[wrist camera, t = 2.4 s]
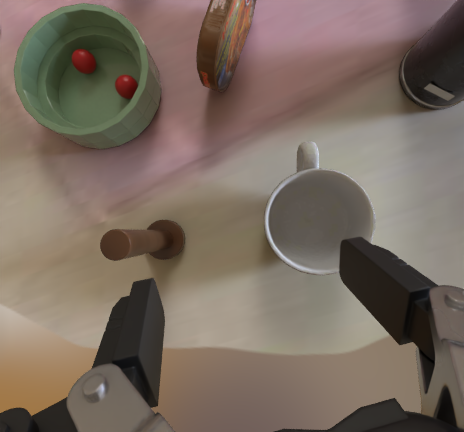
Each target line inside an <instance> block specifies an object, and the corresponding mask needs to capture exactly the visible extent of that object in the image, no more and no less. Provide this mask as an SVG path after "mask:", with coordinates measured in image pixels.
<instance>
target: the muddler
mask: <svg viewBox="0 0 464 432" xmlns="http://www.w3.org/2000/svg"><path fill="white" fill-rule="evenodd" d="M184 244H185V234H184V232H183V230H182V228H181V227H180V226H179V225H178V224H177V223H175V222H173V221H169V220H159V221H156V222H154V223H153V224H151V225H150V226H149V227H148V229H147V230H123V229H115V230H110V231H108V232H107V233H106V234H105V235H104V236H103V237H102V239H101V243H100V248H101V251H102V253H103V255H104V256H105V257H106V258H108V259H110V260H114V261H116V260H122V259H126V258H130V257H134V256H138V255H143V254H147V253H149V254H150V255H152V256H153V257H155V258H157V259H161V260H166V259H170V258H173V257H175V256H176V255H178V254H179V253H180V252H181V251H182V249H183V247H184Z"/></svg>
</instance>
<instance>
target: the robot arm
mask: <svg viewBox="0 0 464 432" xmlns="http://www.w3.org/2000/svg"><path fill="white" fill-rule="evenodd" d="M400 81H401V85H402V87H403V89H404V91H405V93H406V94H407V95H408V96H409V97H410V98H411V99H412V100H413V101H414V102H415V103H417V104H419V105H421V106H423V107H426V108H430V109H445V108H449V107H452V106H454V105H456V104H458V103H459V102H461V101H463V100H464V0H457V1H456V2H455V3H454V4H453V5H452V6H451V8H450V9H449V10H448V11H447V12H446V13H445V14H444V15H443V16H442V17H441V18H440V19H439V20H438V21H437V22H436V23H435V25H434V26H433V27H432V28H431V29H430V30H429V31H428V32H427V33H426V34H425V35H424V36H423V37H422V38H421V39H420V40H419V41H418V42H417V43H416V44H415V45H414V46H413V47H412V48H411V49H410V50H409V51H408V52H407V53H406V55H405V56H404V58H403V60H402V62H401V66H400ZM339 273H340V277H341V279H342V281H343V283H344V284H345V285H346V286H347V288H348V289H349V290H350V291H351V292H352V293H353V294H354V295H355V296H356V298H357V299H358V300H359V301H360V302H361V303H362V304H363V305H364V306H365V307H366V309H367V310H368V311H369V312H370V313H371V314H372V315H373V316H374V317H375V319H376V320H377V321H378V322H379V323H380V324H381V325H382V326H383V327H384V329H385V330H386V331H387V332H388V333H389V334H390V335H391V336H392V337H393V338H394V340H395V341H396V342H397V343H398V344H399V345H403V344H406V343H410V342H414V343H415V344H416V346H417V348H416V360H417V369H418V378H419V386H420V395H421V414H420V413H415V412H409V411H404V410H403V409H402V407H401V406H400V404H399V403H398V402H397V401H396V399H395V398H393V399H389V400H386V401H382V402H378V403H375V404H371V405H368V406H364V407H361V408H359V409H357V410H356V411H355V412H353V413H352V414H350V415H349V416H347V417H346V418H345V419H343V420H342V421H340V422H339V423H338V424H336V425H335V426H334V427H332V428H330V429H328V430H302V429H282V430H278V431H275V432H464V289H462V288H458V287H454V286H446V285H442V286H438V285H437V284H435V283H434V282H433V281H431V280H430V279H428V278H427V277H425V276H424V275H423V274H421V273H420V272H418V271H417V270H416V269H414V268H413V267H411V266H410V265H407V263H406V262H404V261H403V260H401V259H399V258H398V257H397V256H396V255H394V254H393V253H391V252H390V251H389V250H386V249H384V248H381V247H379V246H376V245H372V244H371V243H370V242H368V241H367V240H365V239H364V238H363V237H360V236H359V237H354V238H349V239H344V240H342V241H341V244H340V261H339ZM164 326H165V316H164V310H163V306H162V302H161V299H160V296H159V292H158V289H157V286H156V282H155V280H154V278H150V279H145V280H140V281H136V282H134V283H133V285H132V289H131V292H130V296H126V297H122V298H121V299H120V300H119V301H118V302H117V304H116V305H115V306H114V307H113V309H112V312H111V314H110V317H109V321H108V323H107V326H106V331H105V332H104V335H103V338H102V340H101V343H100V346H99V349H98V352H97V355H96V358H95V361H94V364H93V366H92V369H91V370H89V371H88V372H86V373H85V374H84V375H82V376H81V377H80V378H79V379H78V380H77V381H76V383H75V384H74V385H73V387H72V388H71V390H70V392H69V395H68V397H66V398H65V399H63V400H61V401H59V402H58V403H56V404H54V405H52V406H50V407H48V408H46V409H44V410H42V411H40V412H38V413H37V414H35V415H33V416H31V415H30V413H29V412H28V411H27V410H26V409H24V408H13V409H9V410H7V411H4V412H2V413H0V432H175V431H174V430H173V428H172V427H171V426H170V424H169V423H168V422H167V421H166V420H165V418H164V417H163V416H162V415H161V414H160V413H156V414H155V413H154V412H153V410H152V409H151V408H152V407H156V406H158V397H159V386H160V374H161V362H162V350H163V338H164Z"/></svg>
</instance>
